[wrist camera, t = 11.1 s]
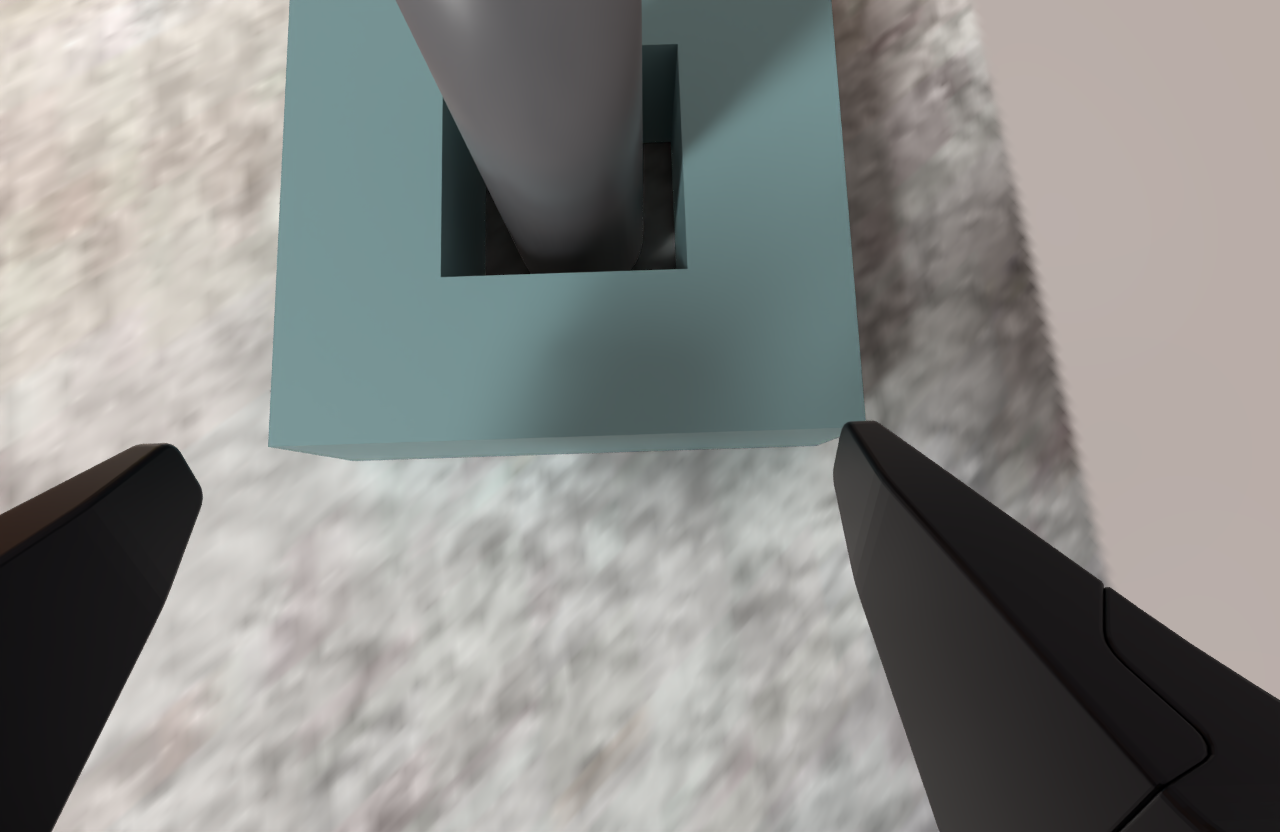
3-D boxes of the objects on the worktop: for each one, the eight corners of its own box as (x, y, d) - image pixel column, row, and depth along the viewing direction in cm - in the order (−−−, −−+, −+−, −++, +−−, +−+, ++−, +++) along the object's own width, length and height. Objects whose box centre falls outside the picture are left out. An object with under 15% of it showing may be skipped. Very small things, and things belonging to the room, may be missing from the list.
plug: (588, 319, 20) (490, -8, 7) (491, 243, 21) (240, -194, 8) (669, 225, 21) (706, -238, 8) (572, 151, 21) (459, -405, 8)
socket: (816, 445, 20) (865, 427, 15) (353, 461, 20) (268, 446, 15) (786, 25, 22) (822, -99, 17) (365, 40, 22) (293, -81, 17)
